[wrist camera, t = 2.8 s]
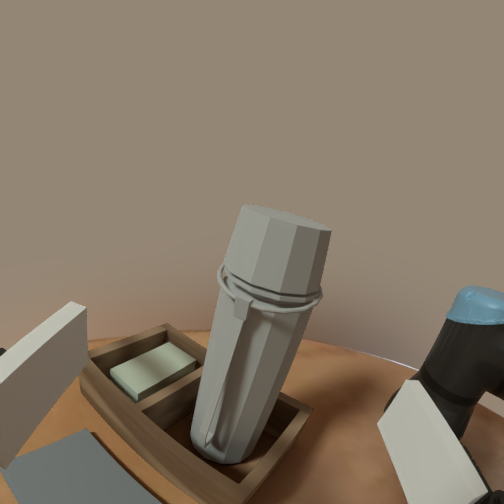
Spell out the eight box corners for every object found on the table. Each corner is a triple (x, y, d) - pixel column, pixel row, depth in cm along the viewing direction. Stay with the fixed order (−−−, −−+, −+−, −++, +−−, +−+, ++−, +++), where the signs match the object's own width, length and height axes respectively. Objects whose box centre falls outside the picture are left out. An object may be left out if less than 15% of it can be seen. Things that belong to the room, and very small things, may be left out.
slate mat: (87, 432, 21) (86, 428, 21) (169, 511, 16) (169, 509, 16) (0, 468, 11) (-4, 464, 11) (74, 571, 6) (71, 570, 6)
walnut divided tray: (163, 356, 39) (167, 322, 37) (295, 439, 29) (313, 408, 27) (81, 392, 26) (75, 355, 25) (228, 522, 16) (243, 501, 15)
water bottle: (209, 409, 31) (261, 203, 25) (266, 439, 28) (348, 231, 22) (162, 451, 23) (197, 200, 17) (227, 492, 20) (326, 241, 14)
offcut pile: (164, 371, 36) (167, 340, 35) (191, 390, 34) (196, 360, 32) (107, 401, 27) (105, 369, 26) (135, 427, 25) (134, 396, 24)
